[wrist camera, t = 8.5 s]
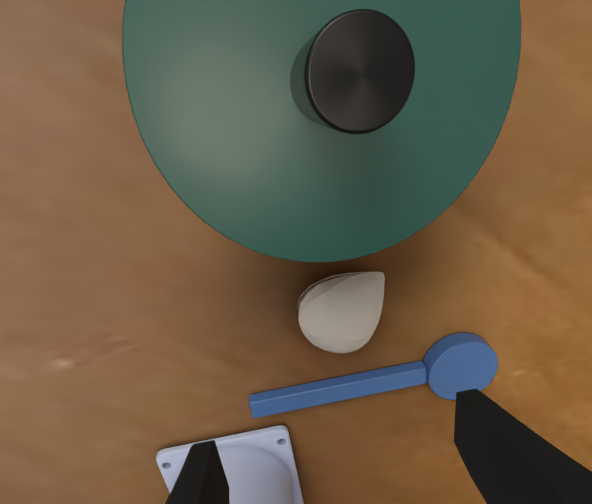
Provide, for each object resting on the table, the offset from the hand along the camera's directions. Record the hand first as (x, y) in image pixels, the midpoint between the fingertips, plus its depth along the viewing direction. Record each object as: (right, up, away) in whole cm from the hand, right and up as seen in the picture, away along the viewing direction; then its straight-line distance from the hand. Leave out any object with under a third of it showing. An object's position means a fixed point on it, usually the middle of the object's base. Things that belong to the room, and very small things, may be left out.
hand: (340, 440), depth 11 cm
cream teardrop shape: (+1, +3, +9) cm, 10 cm away
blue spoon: (+3, -2, +11) cm, 12 cm away
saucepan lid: (0, +10, -1) cm, 10 cm away
